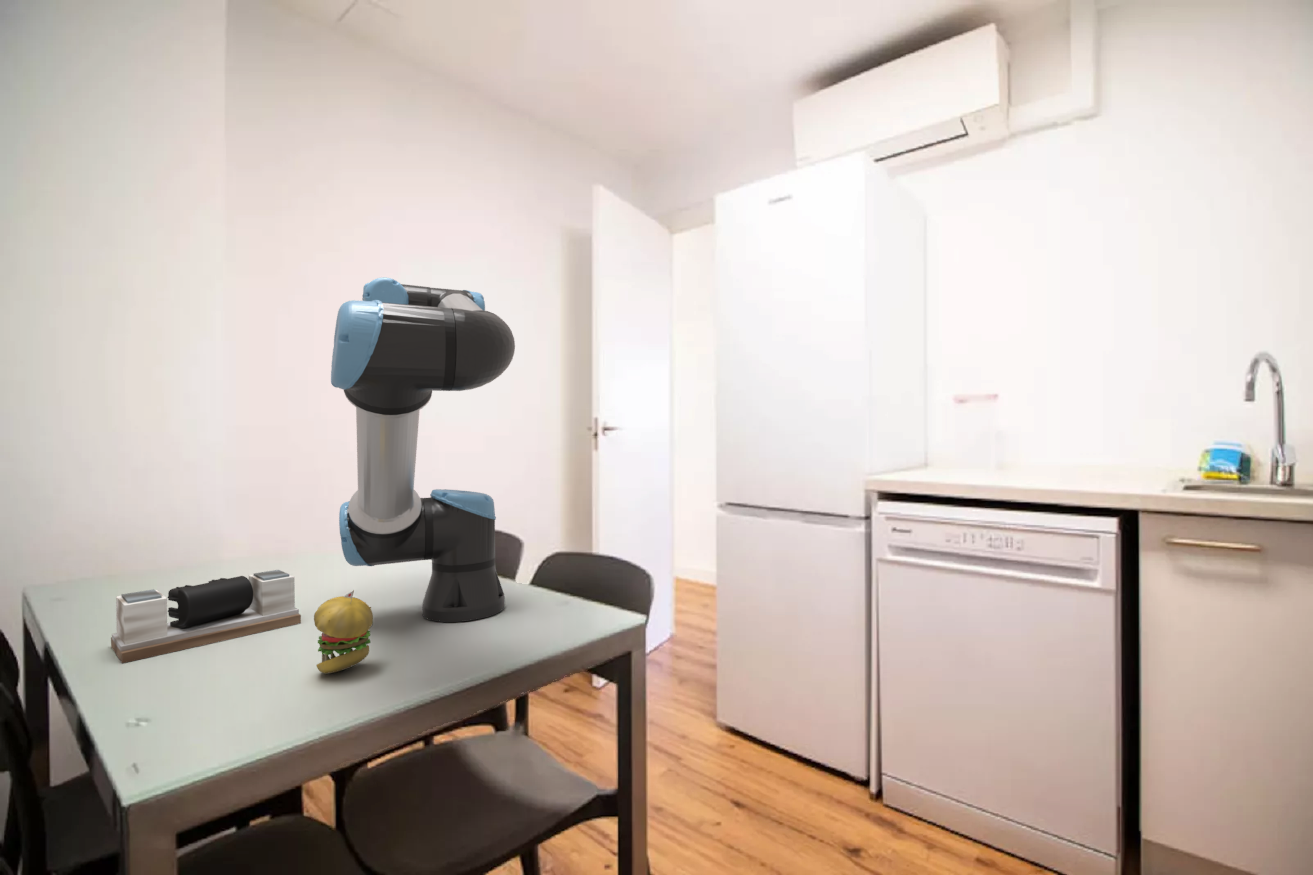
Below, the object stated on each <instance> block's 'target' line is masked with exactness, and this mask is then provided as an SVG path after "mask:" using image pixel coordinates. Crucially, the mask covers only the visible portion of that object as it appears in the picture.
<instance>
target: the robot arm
mask: <svg viewBox="0 0 1313 875" xmlns="http://www.w3.org/2000/svg"><path fill="white" fill-rule="evenodd" d="M362 291H363V292H362V293H363V294H362V300H355V299H354V300H348V301H345V302H343V303H342V304H341V305H340V307H339V308H338V311H337V316H336V321H335V322H336V323H335V328H334V336H333V349H332V356H331V357H332V358H331V370H330V383H331V386H332V387H334V388H335V389H337V388H339V389H340V390H343V393H344V396H345V398H346V399H347V400H348V402H349V403H350V405H352V406H354V407H355V416H356V418H355V419H356V452H357V454H356V456H357V457H356V458H357V459H356V460H357V462H356V463H357V465H356V466H357V490H356V491H355V492H354V493H353V494H352V496H351V498H350V499H349V501H345V502H343V503H342V504H341V505H340V508H339V512H338V513H339V514H338V515H339V516H338V517H339V518H338V521H339V522H338V523H339V525H338V526H339V536H340V544H341V549H342V553H343V556H344V559H345V562H347V563H348V564H349V565H351V566H352V567H361V566H367V567H375V566H379V565H389V564H399V563H407V562H408V563H409V562H417V561H418V562H419V561H430V560H431V576H430V578H429V582H428V584H427V588H426V590H425V594H424V597H423V600H422V604H421V605H422V607H421V608H422V611H421V612H422V613H421V614H422V617H423V618H425V619H426V620H429V621H432V622H433V621H434V622H443V623H457V622H458V623H460V622H468V621H475V620H481V619H484V618H489V617H491V616H494V615H497V614H499V613H500V612H502V611H503V610H504V609H505V608H506V604H505V603H506V598H505V593H504V590H503V587H502V584H501V581H500V578H499V576H498V575H499V574H498V573H497V569H496V520H497V517H496V511H495V510H496V509H495V502H494V499H493V497H492V496H491V495H489V494H487V493H484V492H477V491H470V490H458V489H439V488H436V489H432V490H431V492H430V497H420V496H419V494H418V493H419V492H417V491H416V490H415V489H414V488H415V477H416V474H415V473H416V464H417V463H416V460H417V448H418V437H419V436H418V434H419V422H420V421H419V420H420V410H422V409H423V408H424V407H426V406H427V404H428V403H429V402H430V400H431V399H432V396H433V391H434V392H435V391H436V392H437V391H439V392H440V391H443V392H461V391H468V390H469V391H470V390H474V389H478V388H481V387H483V386H485V385H487V384H490V383H491V382H493V381H495V380H496V379H497V378H499V377H500V376H502V374H503V373H504V372H505V371H506V370H507V369H508V368H509V366H510V365H511V363H512V361H513V357H514V355H515V348H516V343H515V342H516V341H515V336H514V334H513V332H512V330H511V327H510V326H509V325H508V324H507V322H505V320H503V319H502V318H501V317H500V316H499V315H497V314H495V313H493V312H492V311H491V312H490V311H488V310H486V302H485V300H484V299H485V297H484V296H483V294H482V293H480V292H477V291H470V290H467V289H463V290H459V289H450V288H440V287H439V288H438V287H431V286H421V285H413V284H403V283H401V282H399V281H397V280H396V279H393V278H391V277H382V276H381V277H377V278H375V279H372V280H371V281H370V282H367V283H365V284H364V285H363V290H362Z"/></svg>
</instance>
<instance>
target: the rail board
mask: <svg viewBox="0 0 1313 875" xmlns="http://www.w3.org/2000/svg"><path fill="white" fill-rule="evenodd" d="M248 580H249V581H250V582H251V585H252V588H253V601H252V604H251V606H250V607H249V608H248V609H246V610H245V611H244V612H243V613H242V614H238V615H234V616H230V617H226V618H223V619H219V620H215V621H211V622H207V623H203V624H200V625H196V626H192V627H188V628H184V629H180V628H176V627H172V626H170V622H168V597H166V595H164V594H163V593H161V592H160V591H159V590H157V589H154V588H153V589H147V590H141V591H133V592H129V593H128V592H127V593H121V595H118V596H115V600H116V602H115V603H116V605H115V606H116V607H115V608H116V609H115V610H116V611H115V612H116V632H115V633H111V637H110V647H111V649H112V650H113V652H114V654H115V655H116V656H117V658H118V660H119V661H120V663H121V664H127V663H130V662H135V661H139V660H144V659H147V658H153V657H157V656H160V655H161V656H162V655H167V654H170V653H174V652H178V651H184V650H187V649H193V648H197V647H201V646H205V645H206V646H207V645H211V644H213V643H214V644H215V643H218V641H219V642H223V641H228V640H232V639H236V638H242V637H246V636H250V635H255V634H259V633H264V632H267V631H272V630H276V629H277V630H278V629H280V628H285V627H289V626H294V625H298V623H299V624H301V623H302V615H301V613H300V611H299V609H298V608H297V607H296V606H295V605H296V601H295V597H296V596H295V576H294V575H292V574H290V573H287V572H285V571H283V570H280V569H275V570H274V569H273V570H269V571H268V570H267V571H261V572H255V573H253V574H249V575H248Z"/></svg>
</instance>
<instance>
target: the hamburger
mask: <svg viewBox="0 0 1313 875" xmlns="http://www.w3.org/2000/svg"><path fill="white" fill-rule="evenodd" d="M354 593H355V589H353V590H352V591H350V592H349V593H348V594H346V595H341V596H336V597H332V598H329V599H327V600H326V601H324V602H323V603H322V604H320V606H319V607H318V608H317V610H315V613H314V615H313V622H314V627H316V629H317V630H318V631H319V632H321V635H320V636H318V640H317V644H318V645H319V647H318V649H317V652H320V653H321V662H319V663H317V664H316V669H317V670H318V671H319V672H320V673H322V674H333V673H337V672H341V671H343V670H347V669H349V668H351V667H354V666H356V665H358V664H360V663H361V662H362V661H364V660H365V659H366V658H367V657H368V656H369V653H370V645H369V644H371V640H370V636H371V627H372V625H373V622H374V614H373V611H372V606H369V605H368V604H367V602H366V601H363V600H362V599H360V598H357V597H355V596H354ZM334 652H335V653H337V654H339V655H337V656H336V655H335V653H334ZM329 655H330V656H329Z"/></svg>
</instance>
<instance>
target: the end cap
mask: <svg viewBox="0 0 1313 875" xmlns="http://www.w3.org/2000/svg"><path fill="white" fill-rule="evenodd" d="M167 594H168V595H167V601H172V602H176V604H177V607H167V613H168V617H169V618H173V619H177V620H173V621H170V622H169V623H170V626H172V627H176V628H180V629H184V628H188V627H192V626H196V625H200V624H203V623H207V622H211V621H215V620H219V619H223V618H226V617H230V616H234V615H238V614H242V613H243V612H244V611H245V610H246V609H248V608H249V607H250V606H251V604H252V601H253V588H252V585H251V582H250V581H249V578H248V577H247V576H244V575H239V576H235V577H230V578H227V577H226V578H224V577H220V578H217V579H211V580H209V581H208V582H206V583H200V584H195V585H190V584H185V585H184V586H176V587H175V588H171V589H169V590H168V593H167Z"/></svg>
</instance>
